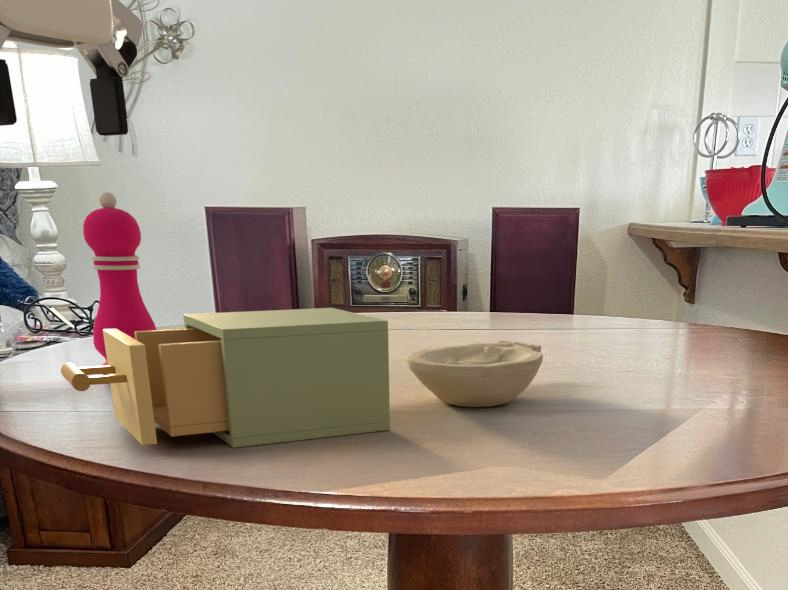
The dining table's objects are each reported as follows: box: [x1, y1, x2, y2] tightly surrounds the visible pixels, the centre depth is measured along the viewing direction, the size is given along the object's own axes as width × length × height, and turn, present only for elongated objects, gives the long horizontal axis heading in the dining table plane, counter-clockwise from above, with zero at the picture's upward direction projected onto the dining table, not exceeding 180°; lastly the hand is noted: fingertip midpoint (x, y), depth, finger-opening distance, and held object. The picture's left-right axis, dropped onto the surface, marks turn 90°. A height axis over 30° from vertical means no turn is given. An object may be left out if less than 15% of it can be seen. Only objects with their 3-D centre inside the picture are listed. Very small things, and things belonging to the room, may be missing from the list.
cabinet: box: [182, 307, 391, 449], centre depth 81 cm, size 15×13×10 cm
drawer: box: [60, 328, 229, 446], centre depth 76 cm, size 18×11×8 cm, turn 119°
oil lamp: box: [405, 340, 544, 408], centre depth 96 cm, size 21×14×5 cm
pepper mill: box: [82, 191, 158, 375], centre depth 101 cm, size 7×7×20 cm
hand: (59, 130), depth 68 cm, fingers open, 9 cm apart
